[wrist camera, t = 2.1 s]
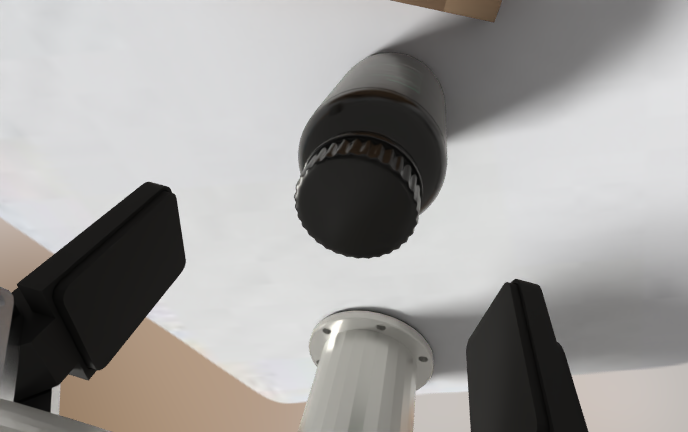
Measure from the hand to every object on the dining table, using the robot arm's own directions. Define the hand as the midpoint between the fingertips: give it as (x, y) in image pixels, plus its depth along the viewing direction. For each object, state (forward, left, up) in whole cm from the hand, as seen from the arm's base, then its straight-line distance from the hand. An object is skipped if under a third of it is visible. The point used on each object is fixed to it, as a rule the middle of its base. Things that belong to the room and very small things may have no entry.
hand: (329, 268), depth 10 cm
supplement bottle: (-1, 0, -16) cm, 16 cm away
